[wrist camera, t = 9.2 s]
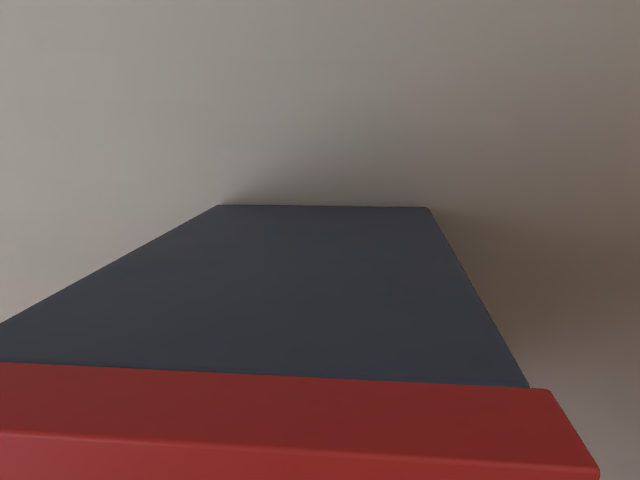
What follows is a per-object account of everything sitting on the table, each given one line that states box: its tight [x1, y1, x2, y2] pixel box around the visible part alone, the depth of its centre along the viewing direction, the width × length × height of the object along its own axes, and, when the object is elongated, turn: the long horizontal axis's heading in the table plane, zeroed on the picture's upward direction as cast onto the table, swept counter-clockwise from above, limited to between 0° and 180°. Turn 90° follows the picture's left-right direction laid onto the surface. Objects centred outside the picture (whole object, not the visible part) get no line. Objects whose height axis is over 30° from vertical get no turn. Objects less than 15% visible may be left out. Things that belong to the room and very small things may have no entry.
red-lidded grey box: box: [0, 205, 600, 480], centre depth 10 cm, size 12×7×7 cm
